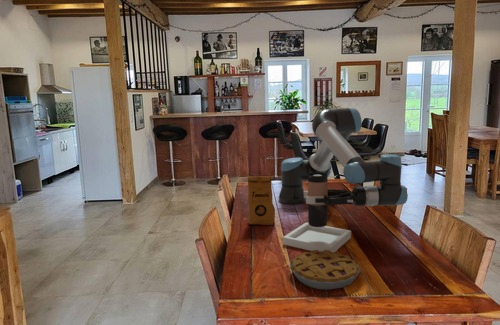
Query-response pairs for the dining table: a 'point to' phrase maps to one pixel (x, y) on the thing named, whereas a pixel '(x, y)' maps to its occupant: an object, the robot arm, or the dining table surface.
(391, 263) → the dining table surface
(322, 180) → the travel mug
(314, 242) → the tray
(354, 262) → the pie
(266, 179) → the coffee package
